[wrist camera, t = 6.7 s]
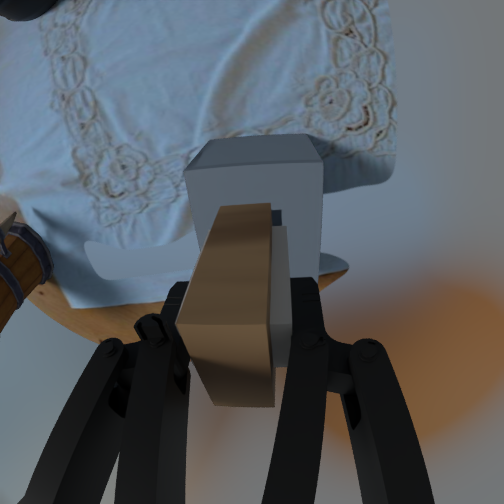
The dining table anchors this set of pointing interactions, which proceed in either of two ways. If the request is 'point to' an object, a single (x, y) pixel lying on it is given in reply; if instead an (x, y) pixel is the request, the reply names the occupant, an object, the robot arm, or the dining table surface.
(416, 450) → the robot arm
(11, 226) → the mug
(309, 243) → the coin box
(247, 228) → the brown wooden block
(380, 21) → the dining table surface
